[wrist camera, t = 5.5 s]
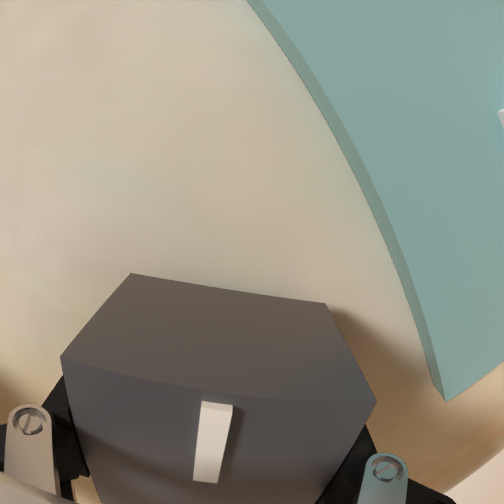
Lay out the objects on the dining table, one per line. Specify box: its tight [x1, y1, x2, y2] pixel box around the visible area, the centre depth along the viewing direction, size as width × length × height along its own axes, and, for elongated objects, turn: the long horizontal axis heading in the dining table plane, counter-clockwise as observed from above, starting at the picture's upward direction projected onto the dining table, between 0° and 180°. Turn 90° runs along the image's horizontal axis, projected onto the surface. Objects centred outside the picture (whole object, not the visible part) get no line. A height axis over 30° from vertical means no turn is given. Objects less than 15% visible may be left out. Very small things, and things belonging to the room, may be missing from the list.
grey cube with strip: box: [60, 273, 377, 504], centre depth 9 cm, size 7×7×5 cm
